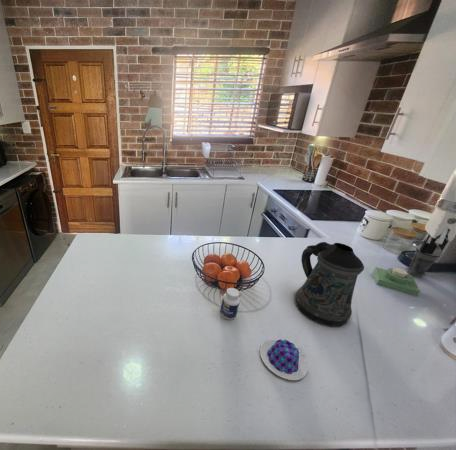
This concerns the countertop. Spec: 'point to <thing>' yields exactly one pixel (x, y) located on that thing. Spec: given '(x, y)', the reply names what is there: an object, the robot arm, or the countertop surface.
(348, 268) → the beer stein
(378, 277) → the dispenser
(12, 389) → the countertop surface
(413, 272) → the beverage cup
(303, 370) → the pudding
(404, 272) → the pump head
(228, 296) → the pill bottle
